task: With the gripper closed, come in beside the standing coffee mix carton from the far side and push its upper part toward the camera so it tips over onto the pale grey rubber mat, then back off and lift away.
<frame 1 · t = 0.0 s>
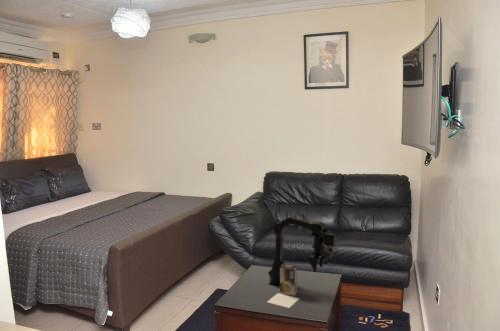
hand: (318, 269, 231), 15 cm above the table, fingers open, 9 cm apart
coffee box: (288, 293, 233), on the table
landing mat: (283, 300, 223), on the table
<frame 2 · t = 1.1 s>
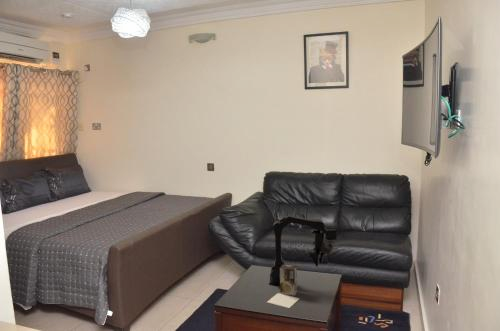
hand: (318, 264, 243), 13 cm above the table, fingers open, 6 cm apart
nothing on the table moved.
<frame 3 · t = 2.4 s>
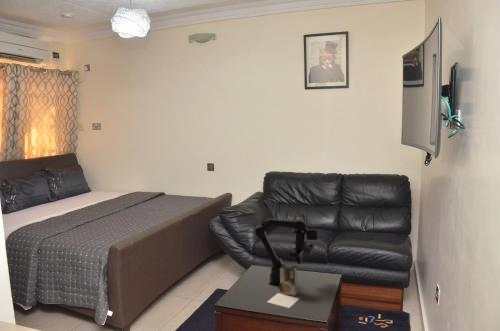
hand: (299, 264, 245), 13 cm above the table, fingers closed
nothing on the table moved.
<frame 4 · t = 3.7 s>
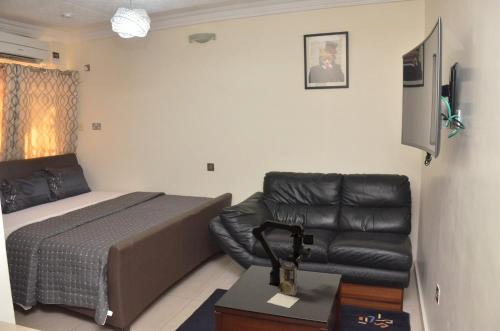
hand: (297, 268, 242), 11 cm above the table, fingers closed
nothing on the table moved.
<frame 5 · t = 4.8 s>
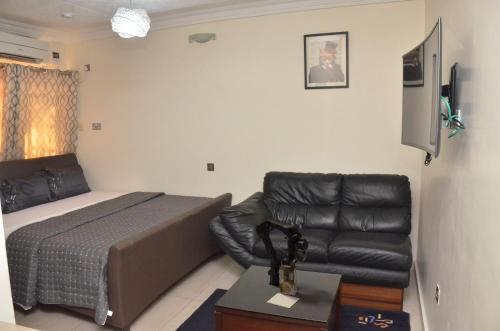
hand: (292, 272, 236), 11 cm above the table, fingers closed
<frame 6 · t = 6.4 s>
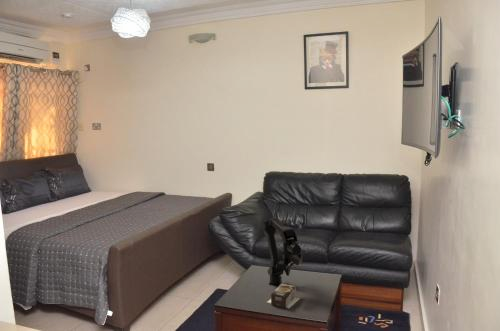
hand: (287, 275, 231), 11 cm above the table, fingers closed
coffee box: (288, 289, 230), point 4 cm above the table, touching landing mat
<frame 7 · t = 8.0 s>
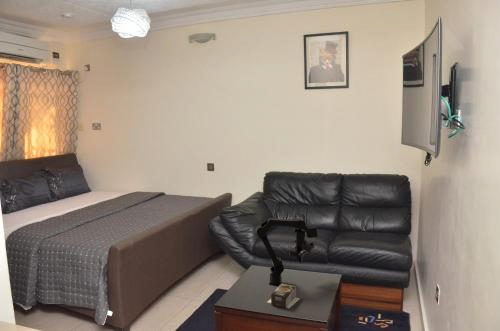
hand: (300, 262, 247), 13 cm above the table, fingers closed
nothing on the table moved.
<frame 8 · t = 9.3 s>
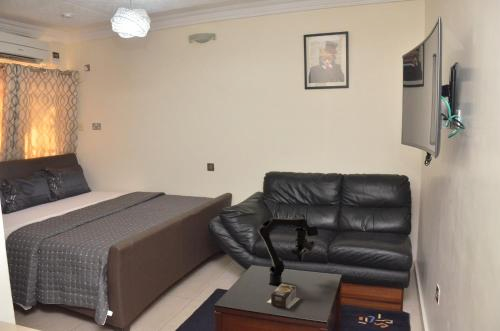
hand: (301, 261, 249), 13 cm above the table, fingers closed
nothing on the table moved.
at the end: coffee box tilted 90°; coffee box touching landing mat; coffee box inside the target area (1.6 cm from its centre), point 3.5 cm above the table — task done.
